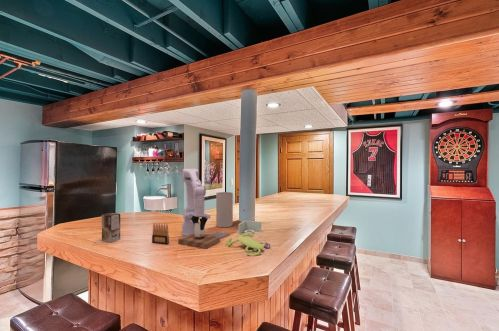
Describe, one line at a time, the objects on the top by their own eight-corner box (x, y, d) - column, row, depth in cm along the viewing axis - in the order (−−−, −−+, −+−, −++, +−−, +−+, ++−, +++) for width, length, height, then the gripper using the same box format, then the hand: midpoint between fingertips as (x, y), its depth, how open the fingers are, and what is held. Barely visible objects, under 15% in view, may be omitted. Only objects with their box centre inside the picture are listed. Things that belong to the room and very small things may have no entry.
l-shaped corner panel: (238, 235, 163) (238, 224, 163) (245, 230, 174) (245, 220, 174) (255, 237, 158) (255, 225, 158) (261, 232, 169) (261, 221, 169)
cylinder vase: (214, 227, 181) (214, 193, 181) (219, 223, 193) (219, 192, 193) (230, 228, 179) (230, 194, 179) (234, 224, 191) (234, 192, 191)
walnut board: (178, 243, 143) (178, 238, 143) (193, 237, 155) (193, 232, 155) (206, 249, 134) (206, 243, 134) (220, 241, 146) (220, 236, 146)
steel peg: (194, 236, 144) (194, 223, 144) (198, 234, 147) (198, 221, 147) (200, 237, 142) (200, 223, 142) (204, 235, 145) (204, 222, 145)
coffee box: (120, 239, 151) (120, 213, 151) (111, 242, 145) (111, 215, 145) (111, 237, 155) (111, 212, 155) (101, 240, 149) (101, 214, 149)
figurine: (246, 239, 154) (246, 230, 154) (277, 250, 133) (277, 240, 133) (222, 245, 142) (222, 235, 142) (252, 258, 121) (252, 247, 121)
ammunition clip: (169, 243, 143) (169, 223, 143) (167, 244, 141) (167, 224, 141) (153, 242, 146) (153, 222, 146) (151, 243, 144) (151, 222, 144)
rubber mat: (208, 236, 157) (208, 235, 157) (217, 232, 166) (217, 231, 166) (221, 238, 153) (221, 237, 153) (229, 234, 162) (229, 233, 162)
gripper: (185, 206, 144) (185, 229, 144) (205, 208, 138) (205, 232, 138) (193, 204, 150) (193, 226, 150) (212, 206, 144) (212, 229, 144)
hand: (199, 229), depth 144 cm, fingers closed on steel peg, 4 cm apart
